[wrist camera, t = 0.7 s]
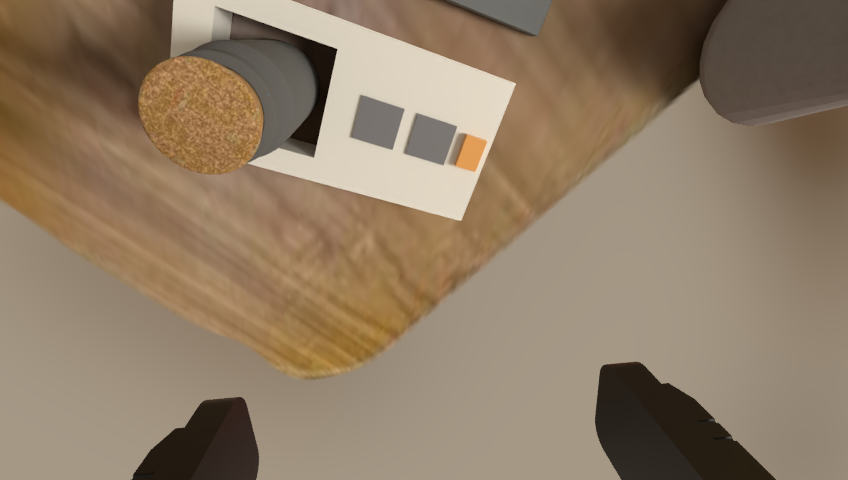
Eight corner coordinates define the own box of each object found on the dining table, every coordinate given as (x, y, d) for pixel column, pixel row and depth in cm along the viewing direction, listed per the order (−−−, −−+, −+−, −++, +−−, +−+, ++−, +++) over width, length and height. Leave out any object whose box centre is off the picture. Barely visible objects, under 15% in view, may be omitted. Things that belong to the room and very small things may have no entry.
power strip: (187, 131, 30) (161, 143, 27) (200, -33, 26) (171, -45, 22) (453, 205, 35) (462, 224, 32) (501, 79, 31) (518, 84, 27)
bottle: (278, 138, 31) (206, 212, 18) (220, 72, 29) (86, 101, 15) (336, 93, 30) (305, 135, 17) (281, 21, 28) (194, 3, 14)
